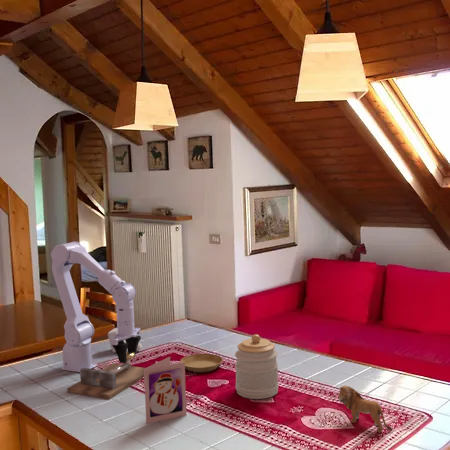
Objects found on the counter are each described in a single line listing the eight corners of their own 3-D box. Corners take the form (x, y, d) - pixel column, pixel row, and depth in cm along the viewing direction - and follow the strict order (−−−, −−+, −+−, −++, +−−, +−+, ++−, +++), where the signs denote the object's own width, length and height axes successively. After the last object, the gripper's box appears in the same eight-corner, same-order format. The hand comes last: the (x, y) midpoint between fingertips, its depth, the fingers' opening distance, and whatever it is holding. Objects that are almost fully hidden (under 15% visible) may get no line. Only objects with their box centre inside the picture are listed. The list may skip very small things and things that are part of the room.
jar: (283, 385, 174) (281, 330, 173) (272, 402, 162) (271, 342, 160) (243, 381, 178) (241, 327, 177) (230, 397, 166) (228, 339, 165)
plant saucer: (198, 378, 183) (198, 370, 183) (171, 367, 194) (171, 360, 194) (232, 367, 193) (231, 359, 193) (204, 357, 204) (204, 350, 204)
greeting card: (147, 424, 149) (144, 370, 148) (139, 414, 156) (137, 361, 155) (187, 416, 154) (185, 363, 153) (178, 406, 161) (176, 355, 159)
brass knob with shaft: (102, 376, 181) (101, 362, 181) (125, 363, 193) (125, 350, 193) (115, 378, 179) (114, 364, 179) (138, 365, 191) (137, 352, 190)
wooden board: (67, 391, 174) (66, 372, 174) (113, 366, 196) (112, 350, 195) (109, 399, 168) (108, 379, 167) (152, 372, 189) (152, 355, 189)
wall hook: (139, 353, 208) (132, 327, 208) (114, 358, 211) (107, 333, 210) (146, 346, 216) (139, 321, 216) (122, 352, 219) (115, 327, 218)
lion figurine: (334, 420, 149) (334, 387, 148) (344, 413, 153) (343, 381, 152) (387, 435, 140) (387, 400, 139) (396, 427, 144) (396, 393, 143)
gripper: (122, 327, 180) (124, 368, 181) (147, 316, 193) (148, 354, 194) (104, 325, 183) (106, 365, 184) (130, 314, 196) (131, 352, 197)
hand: (127, 359), depth 189 cm, fingers closed on brass knob with shaft, 5 cm apart
